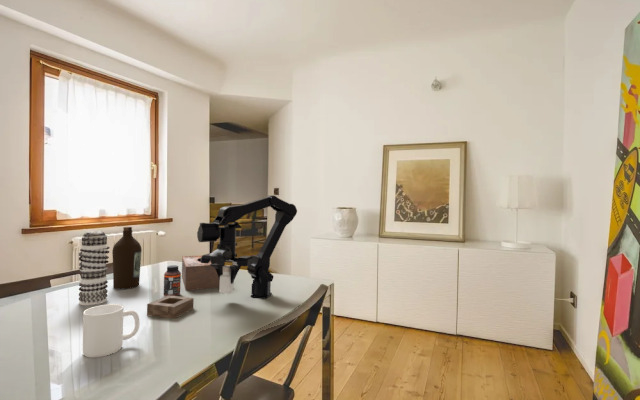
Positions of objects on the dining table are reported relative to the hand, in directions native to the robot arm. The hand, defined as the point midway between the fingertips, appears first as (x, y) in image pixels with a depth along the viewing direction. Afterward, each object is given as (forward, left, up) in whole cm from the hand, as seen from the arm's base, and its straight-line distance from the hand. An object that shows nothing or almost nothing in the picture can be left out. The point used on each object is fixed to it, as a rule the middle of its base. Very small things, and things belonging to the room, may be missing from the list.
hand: (226, 283), depth 122 cm
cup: (+8, +42, -7) cm, 43 cm away
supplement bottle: (+24, -1, -7) cm, 25 cm away
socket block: (+12, +15, -7) cm, 20 cm away
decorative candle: (+45, +14, -7) cm, 48 cm away
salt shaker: (0, 0, -4) cm, 4 cm away
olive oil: (+50, -6, -7) cm, 51 cm away
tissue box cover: (+26, -23, -7) cm, 35 cm away
